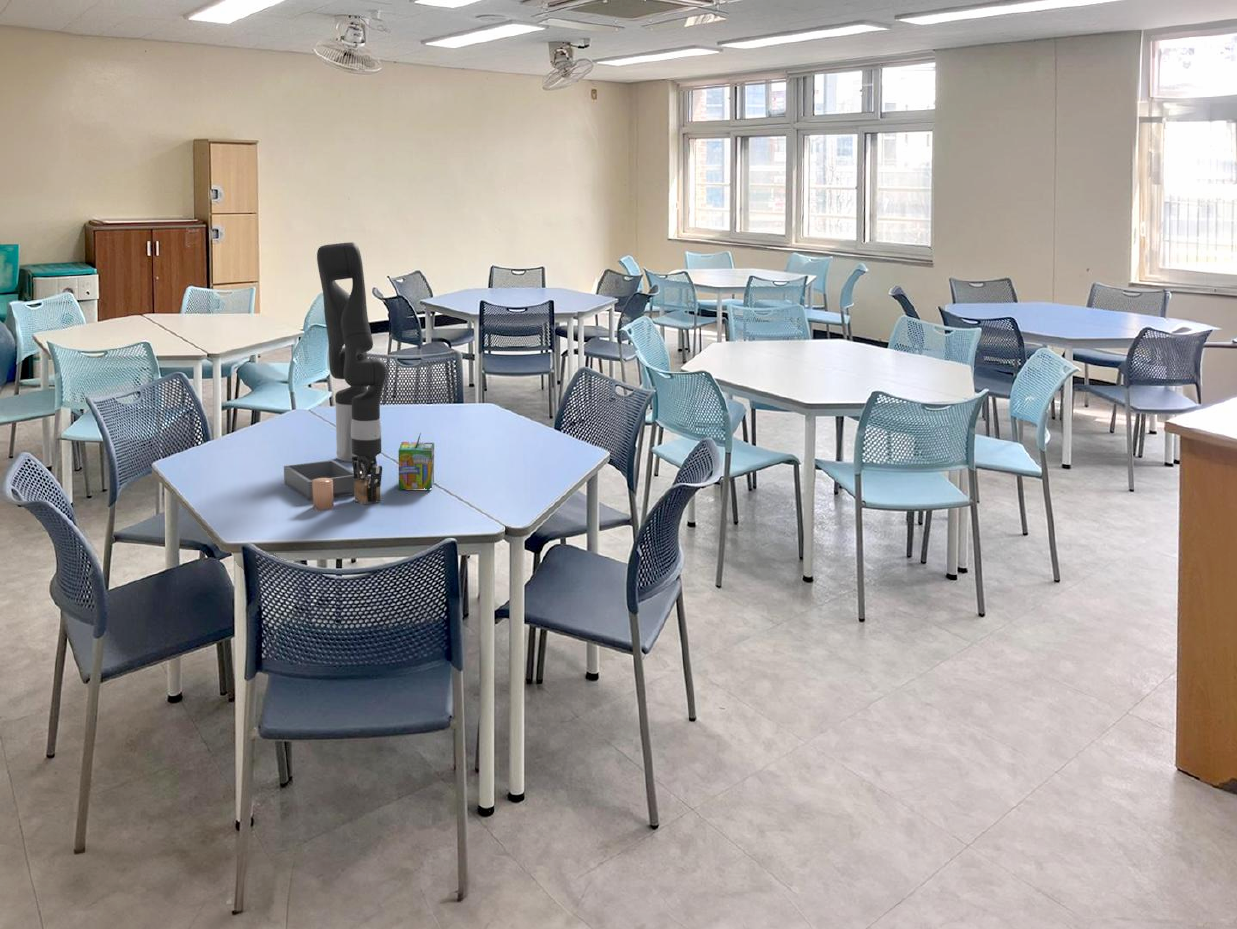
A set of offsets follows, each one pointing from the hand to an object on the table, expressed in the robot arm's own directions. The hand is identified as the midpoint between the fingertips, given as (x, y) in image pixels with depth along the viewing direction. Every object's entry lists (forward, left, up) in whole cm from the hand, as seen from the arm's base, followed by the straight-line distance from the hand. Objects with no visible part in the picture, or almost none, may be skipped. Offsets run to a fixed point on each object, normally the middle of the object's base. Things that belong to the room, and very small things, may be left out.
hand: (367, 498), depth 278 cm
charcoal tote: (+6, -16, 0) cm, 17 cm away
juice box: (-17, -6, -1) cm, 18 cm away
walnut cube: (0, 0, 0) cm, 0 cm away
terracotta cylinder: (+12, 0, 0) cm, 12 cm away
